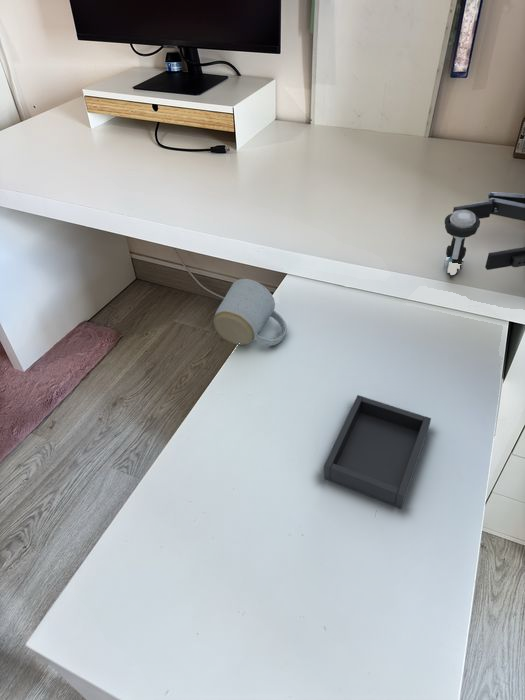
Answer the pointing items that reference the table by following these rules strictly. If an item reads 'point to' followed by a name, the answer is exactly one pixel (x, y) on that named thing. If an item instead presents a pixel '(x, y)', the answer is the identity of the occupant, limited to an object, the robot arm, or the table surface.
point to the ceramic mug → (247, 314)
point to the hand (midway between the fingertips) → (469, 237)
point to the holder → (377, 450)
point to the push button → (460, 232)
